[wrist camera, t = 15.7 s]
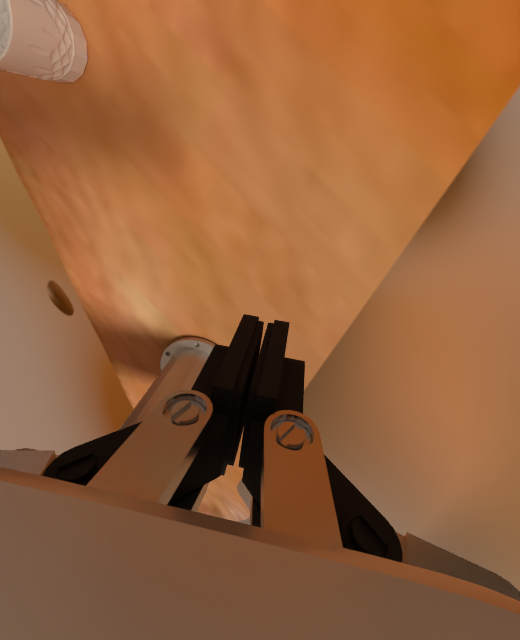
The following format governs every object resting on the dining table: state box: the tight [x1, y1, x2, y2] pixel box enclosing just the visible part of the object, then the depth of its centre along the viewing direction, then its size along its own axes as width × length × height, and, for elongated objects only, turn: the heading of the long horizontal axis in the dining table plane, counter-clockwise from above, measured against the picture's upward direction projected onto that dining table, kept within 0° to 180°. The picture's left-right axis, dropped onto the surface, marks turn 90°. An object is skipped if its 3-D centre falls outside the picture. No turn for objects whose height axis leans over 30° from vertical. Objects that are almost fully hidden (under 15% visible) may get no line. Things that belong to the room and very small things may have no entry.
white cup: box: [0, 0, 88, 83], centre depth 28 cm, size 8×8×10 cm
